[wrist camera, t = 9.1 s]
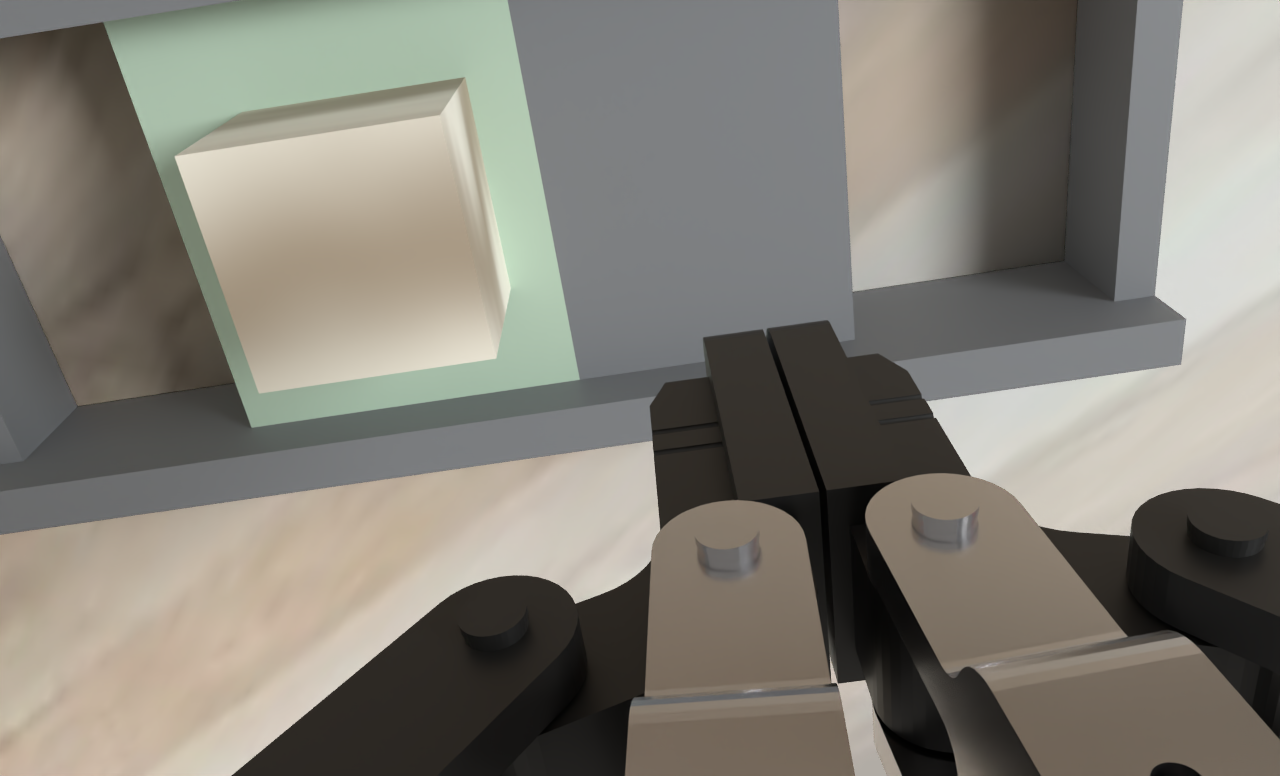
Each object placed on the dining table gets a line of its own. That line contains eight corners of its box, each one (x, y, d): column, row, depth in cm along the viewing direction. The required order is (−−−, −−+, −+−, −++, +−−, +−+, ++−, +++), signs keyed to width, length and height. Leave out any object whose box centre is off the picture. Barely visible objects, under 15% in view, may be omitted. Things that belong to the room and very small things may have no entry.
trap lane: (-153, -5, 24) (-308, 18, 20) (1132, -212, 23) (1248, -232, 19) (60, 447, 29) (-26, 538, 25) (1097, 295, 28) (1181, 364, 24)
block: (242, 111, 22) (174, 156, 19) (465, 77, 22) (440, 115, 18) (308, 318, 24) (258, 393, 21) (510, 288, 24) (496, 358, 21)
